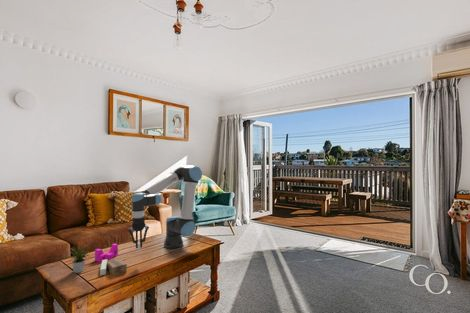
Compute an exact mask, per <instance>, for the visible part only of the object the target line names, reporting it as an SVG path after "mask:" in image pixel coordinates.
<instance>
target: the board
mask: <svg viewBox="0 0 470 313" xmlns="http://www.w3.org/2000/svg"><path fill="white" fill-rule="evenodd" d="M108 261H109V259H106V260H102V262H101V265H100V269H99V272H100V273H99V275H100V276H104V275H106V274H107V271H108V270H107V262H108Z"/></svg>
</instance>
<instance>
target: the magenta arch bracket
mask: <svg viewBox="0 0 470 313" xmlns="http://www.w3.org/2000/svg"><path fill="white" fill-rule="evenodd" d="M118 252H119V244H117V243H112V244H111V247H110V248H109V249H108V251H107V252H105V253H104V251H103V249H101V248H96V249H94V262H98V263H102V260H106V259H108V260H110V259H113V258H115V256H117V255H119V253H118Z"/></svg>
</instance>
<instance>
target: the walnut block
mask: <svg viewBox="0 0 470 313" xmlns="http://www.w3.org/2000/svg"><path fill="white" fill-rule="evenodd" d="M106 271H108V272H109V274H110V275H111V276H117V275H120V274H124V273H127V271H128V270H127V263H126V262H125V261H124V260H122V259H121V258H116V259H112V260H108V262H107V270H106Z"/></svg>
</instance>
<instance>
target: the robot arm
mask: <svg viewBox="0 0 470 313" xmlns="http://www.w3.org/2000/svg"><path fill="white" fill-rule="evenodd" d="M202 176H203V172H202V170H201V167H200V166H197V165H182V166H179V167H177V168H176V169H174V170H173V171H171V172H170V174H168V175H167V176H165V177H163V178H162V179H160V180H159V181H157V182H156V183H154V184H153V185H151V186H149V187H148V188H146V189H145V190H142V192H141V191H140V192H136V193H133V194H132V195H131V196H132V197H131V208H132V209H131V210H132V212H131V216H132V218H131V219H132V222H131V223H132V225H131V227H129V228H127V231H128V232H129V234H130V238H131V240H132V243H134V244H135V249H137V254H141V249H142V247H143V243H145V241H146V236H147V234H148V230H149V229H150V226H149V225H146V222H145V219H146V218H145V213H146V212H145V208H146V207H151V206H152V207H153V206H156V205H157V206H158V205H159V204H161V201H162V197H161V195H160V193H161V192H163V191H164V190H166V189H167V188H169V187H170V186H172V185H174V184H175V183H179V182H180V181H182V183H184V189H183V197H182V202H181V203H182V205H181V208H180V209H181V211H180V215H175V216H169V217H166V220H165V224H166V225H165V226H166V228H165V231H166V232H165V238H164V242H163V247H164V248H165V249H178V248H182V247H183V245H184V241H183V238H182V237H190V236H192V235H193V234H194V233H195V230H196V224H195V222H194V217H193V209H194V202H195V195H196V186H197V185H198V184H199V181H200V180H201V179H202V178H203V177H202ZM143 230H144V234H143ZM133 231H134V232H135V237H134V233H133ZM138 232H139V233H138ZM138 238H139V239H138Z"/></svg>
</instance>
